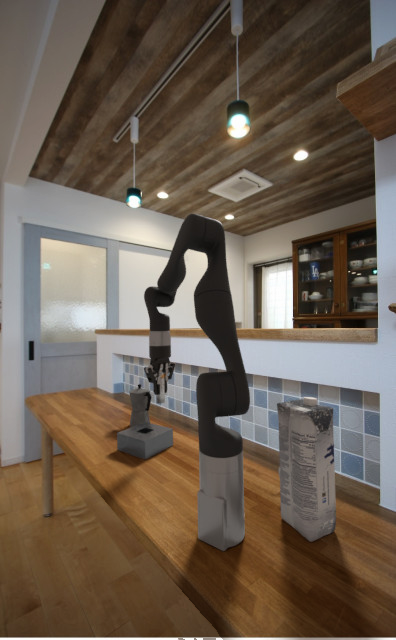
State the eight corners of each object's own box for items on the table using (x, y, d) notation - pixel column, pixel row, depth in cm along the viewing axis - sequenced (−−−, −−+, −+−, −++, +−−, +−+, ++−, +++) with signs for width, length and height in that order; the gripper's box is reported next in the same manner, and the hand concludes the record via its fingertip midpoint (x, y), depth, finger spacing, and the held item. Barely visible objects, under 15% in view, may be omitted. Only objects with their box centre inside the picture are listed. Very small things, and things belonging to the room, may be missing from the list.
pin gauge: (160, 404, 99) (160, 374, 99) (154, 402, 101) (154, 373, 101) (166, 402, 102) (166, 373, 102) (160, 400, 103) (160, 372, 103)
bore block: (145, 459, 95) (145, 441, 95) (117, 449, 103) (117, 432, 103) (173, 445, 106) (172, 428, 107) (145, 437, 114) (145, 422, 115)
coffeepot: (123, 424, 131) (122, 383, 132) (141, 419, 138) (140, 381, 138) (141, 432, 120) (140, 388, 120) (160, 427, 126) (159, 385, 127)
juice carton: (311, 548, 56) (307, 406, 57) (274, 517, 65) (271, 396, 66) (343, 533, 60) (339, 401, 60) (304, 505, 69) (301, 391, 70)
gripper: (153, 346, 94) (153, 399, 94) (181, 343, 105) (181, 391, 105) (137, 345, 98) (138, 396, 98) (165, 342, 109) (166, 388, 109)
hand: (160, 393), depth 101 cm, fingers closed on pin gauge, 2 cm apart
